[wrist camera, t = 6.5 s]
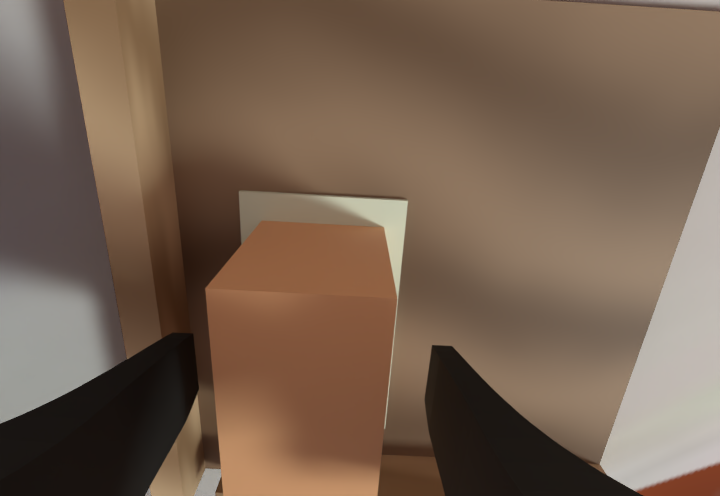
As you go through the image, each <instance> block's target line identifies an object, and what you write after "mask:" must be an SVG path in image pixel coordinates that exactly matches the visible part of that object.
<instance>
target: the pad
mask: <svg viewBox="0 0 720 496" xmlns="http://www.w3.org/2000/svg"><path fill="white" fill-rule="evenodd" d="M407 205H408V200H406V199H388V198H370V197H352V196H334V195H316V194H298V193H280V192H262V191H244V190H240V191H239V207H240V226H241V245H242V244H243V242H244V241H245V240H246V239H247V238H248V236H249V235H250V234H251V233H252V232H253V230H254V229H255V228H256V227H257V226H258V224H259V223H260V222H261V221H280V222H298V223H316V224H334V225H352V226H370V227H384V230H385V235H386V241H387V246H388V251H389V256H390V262H391V267H392V272H393V278H394V283H395V288H396V293H397V305H398V295H399V285H400V275H401V265H402V255H403V245H404V235H405V225H406V215H407ZM396 315H397V308H396ZM395 325H396V318H395ZM394 335H395V327H394ZM393 345H394V337H393ZM392 355H393V347H392ZM391 364H392V357H391ZM390 374H391V367H390ZM389 384H390V377H389ZM388 394H389V386H388ZM387 404H388V396H387ZM386 414H387V406H386ZM385 424H386V416H385ZM384 429H385V426H384Z"/></svg>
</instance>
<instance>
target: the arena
mask: <svg viewBox="0 0 720 496" xmlns="http://www.w3.org/2000/svg"><path fill="white" fill-rule="evenodd" d="M63 2H64V7H65V13H66V19H67V24H68V30H69V36H70V41H71V47H72V53H73V58H74V64H75V69H76V75H77V81H78V86H79V92H80V98H81V103H82V109H83V114H84V120H85V126H86V131H87V137H88V143H89V148H90V154H91V159H92V165H93V171H94V176H95V182H96V188H97V193H98V199H99V204H100V210H101V216H102V221H103V227H104V233H105V238H106V244H107V249H108V255H109V261H110V266H111V272H112V278H113V283H114V289H115V294H116V300H117V306H118V311H119V317H120V323H121V328H122V334H123V339H124V345H125V351H126V356H127V359H129V358H130V357H132V356H134V355H135V354H137V353H138V352H140V351H142V350H143V349H145V348H147V347H148V346H150V345H152V344H153V343H155V342H157V341H158V340H160V339H162V338H163V337H165V336H167V335H169V334H171V333H173V332H174V333H193V336H194V345H195V355H196V364H197V374H198V383H199V391H198V393H197V396H196V399H195V401H194V404H193V406H192V409H191V411H190V414H189V416H188V418H187V421H186V423H185V424H184V426H183V428H182V430H181V432H180V434H179V435H178V437H177V439H176V441H175V443H174V444H173V446H172V448H171V450H170V452H169V453H168V455H167V457H166V459H165V460H164V462H163V464H162V466H161V467H160V469H159V471H158V473H157V475H156V476H155V478H154V480H153V482H152V483H151V485H150V491H151V496H194V494H195V492H196V489H197V487H198V484H199V482H200V480H201V477H202V475H203V473H204V470H205V468H210V469H221V463H220V452H219V440H218V429H217V418H216V406H215V395H214V383H213V372H212V360H211V349H210V337H209V326H208V314H207V303H206V291H205V288H206V287H207V286H208V285H209V283H210V282H211V281H212V280H213V279H214V277H215V276H216V275H217V274H218V272H219V271H220V270H221V269H222V268H223V266H224V265H225V264H226V263H227V262H228V260H229V259H230V258H231V257H232V256H233V254H234V253H235V252H236V251H237V250H238V248H239V247H240V246H241V226H240V207H239V191H240V190H244V191H262V192H280V193H298V194H316V195H334V196H352V197H370V198H388V199H406V200H408V205H407V215H406V225H405V235H404V245H403V255H402V265H401V275H400V285H399V295H398V305H397V315H396V325H395V335H394V345H393V355H392V364H391V374H390V384H389V394H388V404H387V414H386V424H385V429H384V436H383V446H382V455H381V465H380V475H379V485H378V495H377V496H445V493H444V489H443V486H442V482H441V478H440V474H439V470H438V466H437V463H436V459H435V455H434V451H433V447H432V443H431V439H430V435H429V431H428V424H427V416H426V408H425V400H424V399H425V392H426V384H427V377H428V370H429V363H430V356H431V349H432V345H443V346H453V347H454V348H455V350H456V351H457V352H458V353H459V354H460V355H461V356H462V357H463V358H464V359H465V360H466V361H467V363H468V364H469V365H470V366H471V367H472V368H473V369H474V370H475V371H476V372H477V373H478V374H479V375H480V376H481V377H482V378H483V379H484V380H485V381H486V382H487V384H488V385H489V386H490V387H491V388H493V389H494V390H495V391H496V392H497V393H498V394H499V395H500V396H501V397H502V398H503V399H504V400H505V401H506V402H507V403H508V404H510V405H511V406H512V407H513V408H514V409H515V410H516V411H517V412H518V413H520V414H521V415H522V416H523V417H524V418H526V419H527V420H528V421H529V422H530V423H532V424H533V425H534V426H536V427H537V428H538V429H539V430H541V431H542V432H543V433H545V434H546V435H547V436H548V437H550V438H551V439H552V440H554V441H555V442H557V443H558V444H559V445H561V446H562V447H564V448H565V449H567V450H568V451H570V452H571V453H573V454H574V455H576V456H577V457H579V458H580V459H582V460H583V461H585V462H586V463H588V464H589V465H591V466H593V467H594V468H596V469H597V470H599V471H601V472H602V473H604V474H606V473H605V472H604V470H603V469H602V467H601V466H600V461H601V458H602V455H603V452H604V450H605V447H606V444H607V441H608V438H609V436H610V433H611V430H612V427H613V424H614V422H615V419H616V416H617V413H618V410H619V408H620V405H621V402H622V399H623V396H624V394H625V391H626V388H627V385H628V382H629V380H630V377H631V374H632V371H633V368H634V366H635V363H636V360H637V357H638V354H639V352H640V349H641V346H642V343H643V340H644V338H645V335H646V332H647V329H648V326H649V324H650V321H651V318H652V315H653V312H654V310H655V307H656V304H657V301H658V298H659V296H660V293H661V290H662V287H663V284H664V282H665V279H666V276H667V273H668V270H669V268H670V265H671V262H672V259H673V256H674V254H675V251H676V248H677V245H678V242H679V240H680V237H681V234H682V231H683V228H684V226H685V223H686V220H687V217H688V214H689V212H690V209H691V206H692V203H693V200H694V198H695V195H696V192H697V189H698V186H699V184H700V181H701V178H702V175H703V172H704V170H705V167H706V164H707V161H708V158H709V156H710V153H711V150H712V147H713V144H714V142H715V139H716V136H717V133H718V130H719V128H720V12H719V11H704V10H689V9H673V8H658V7H642V6H627V5H612V4H596V3H581V2H566V1H550V0H63ZM215 494H216V496H223V486H222V476H221V479H220V481H219V484H218V487H217V490H216V492H215Z"/></svg>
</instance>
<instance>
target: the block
mask: <svg viewBox="0 0 720 496" xmlns="http://www.w3.org/2000/svg"><path fill="white" fill-rule="evenodd" d="M205 291H206V303H207V314H208V326H209V337H210V349H211V360H212V372H213V383H214V395H215V406H216V418H217V429H218V440H219V452H220V463H221V475H222V486H223V496H377V495H378V485H379V475H380V465H381V455H382V446H383V436H384V426H385V416H386V406H387V396H388V386H389V377H390V367H391V357H392V347H393V337H394V327H395V318H396V308H397V293H396V288H395V283H394V278H393V272H392V267H391V262H390V256H389V251H388V246H387V241H386V235H385V230H384V227H370V226H352V225H334V224H316V223H298V222H280V221H261V222H260V223H259V224H258V226H257V227H256V228H255V229H254V230H253V232H252V233H251V234H250V235H249V236H248V238H247V239H246V240H245V241H244V242H243V244H242V245H241V246H240V247H239V248H238V250H237V251H236V252H235V253H234V254H233V256H232V257H231V258H230V259H229V260H228V262H227V263H226V264H225V265H224V266H223V268H222V269H221V270H220V271H219V272H218V274H217V275H216V276H215V277H214V279H213V280H212V281H211V282H210V283H209V285H208V286H207V287H206V288H205Z"/></svg>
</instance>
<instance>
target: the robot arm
mask: <svg viewBox="0 0 720 496" xmlns="http://www.w3.org/2000/svg"><path fill="white" fill-rule="evenodd" d="M198 391H199V383H198V374H197V364H196V355H195V345H194V336H193V333H174V332H173V333H171V334H169V335H167V336H165V337H163V338H162V339H160V340H158V341H157V342H155V343H153V344H152V345H150V346H148V347H147V348H145V349H143V350H142V351H140V352H138V353H137V354H135V355H134V356H132V357H130V358H129V359H127V360H125V361H124V362H122V363H120V364H119V365H117V366H115V367H114V368H112V369H110V370H109V371H107V372H105V373H103V374H101V375H100V376H98V377H96V378H94V379H92V380H91V381H89V382H87V383H85V384H83V385H82V386H80V387H78V388H76V389H74V390H72V391H71V392H69V393H67V394H65V395H63V396H61V397H59V398H57V399H55V400H53V401H51V402H49V403H46V404H44V405H42V406H40V407H38V408H36V409H34V410H32V411H29V412H27V413H25V414H23V415H20V416H18V417H16V418H13V419H11V420H8V421H6V422H3V423H1V424H0V496H145V494H146V492H147V491H148V489H149V487H150V485H151V483H152V482H153V480H154V478H155V476H156V475H157V473H158V471H159V469H160V467H161V466H162V464H163V462H164V460H165V459H166V457H167V455H168V453H169V452H170V450H171V448H172V446H173V444H174V443H175V441H176V439H177V437H178V435H179V434H180V432H181V430H182V428H183V426H184V424H185V423H186V421H187V418H188V416H189V414H190V411H191V409H192V406H193V404H194V401H195V399H196V396H197V393H198ZM424 400H425V408H426V416H427V424H428V431H429V435H430V439H431V443H432V447H433V451H434V455H435V459H436V463H437V466H438V470H439V474H440V478H441V482H442V486H443V489H444V493H445V496H643V495H640V494H639V493H637V492H635V491H633V490H632V489H630V488H628V487H626V486H625V485H623V484H621V483H619V482H618V481H616V480H614V479H612V478H611V477H609V476H607V475H606V474H604V473H602V472H601V471H599V470H597V469H596V468H594V467H593V466H591V465H589V464H588V463H586V462H585V461H583V460H582V459H580V458H579V457H577V456H576V455H574V454H573V453H571V452H570V451H568V450H567V449H565V448H564V447H562V446H561V445H559V444H558V443H557V442H555V441H554V440H552V439H551V438H550V437H548V436H547V435H546V434H545V433H543V432H542V431H541V430H539V429H538V428H537V427H536V426H534V425H533V424H532V423H530V422H529V421H528V420H527V419H526V418H524V417H523V416H522V415H521V414H520V413H518V412H517V411H516V410H515V409H514V408H513V407H512V406H511V405H510V404H508V403H507V402H506V401H505V400H504V399H503V398H502V397H501V396H500V395H499V394H498V393H497V392H496V391H495V390H494V389H493V388H491V387H490V386H489V385H488V384H487V382H486V381H485V380H484V379H483V378H482V377H481V376H480V375H479V374H478V373H477V372H476V371H475V370H474V369H473V368H472V367H471V366H470V365H469V364H468V363H467V361H466V360H465V359H464V358H463V357H462V356H461V355H460V354H459V353H458V352H457V351H456V350H455V348H454V347H453V346H443V345H432V349H431V356H430V363H429V370H428V377H427V384H426V392H425V399H424Z"/></svg>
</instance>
